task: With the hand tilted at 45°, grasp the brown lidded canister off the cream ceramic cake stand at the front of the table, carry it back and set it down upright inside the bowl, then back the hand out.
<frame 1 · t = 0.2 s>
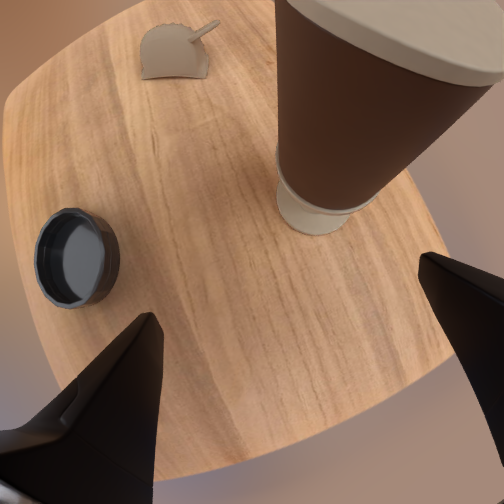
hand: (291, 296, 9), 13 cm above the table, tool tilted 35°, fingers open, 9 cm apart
brown lidded canister: (333, 157, 14), point 8 cm above the table, touching cake stand
bowl: (82, 259, 23), on the table
cake stand: (314, 197, 22), on the table
beige curved piece: (183, 66, 24), on the table
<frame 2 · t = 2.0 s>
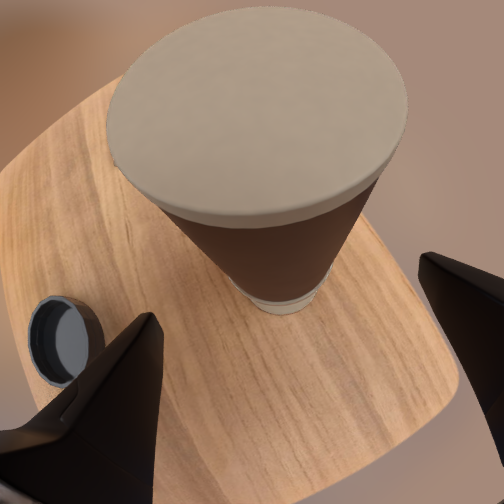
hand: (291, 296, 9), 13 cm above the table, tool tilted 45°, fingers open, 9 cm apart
brown lidded canister: (277, 247, 15), point 8 cm above the table, touching cake stand
bowl: (71, 342, 23), on the table
cake stand: (281, 277, 23), on the table
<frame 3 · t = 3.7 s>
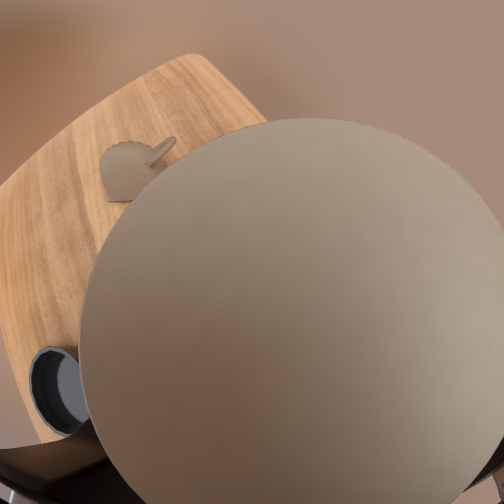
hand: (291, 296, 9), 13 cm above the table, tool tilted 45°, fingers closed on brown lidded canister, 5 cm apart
brown lidded canister: (296, 337, 13), point 8 cm above the table, touching cake stand, gripper
bowl: (74, 390, 21), on the table
beige curved piece: (149, 184, 26), on the table
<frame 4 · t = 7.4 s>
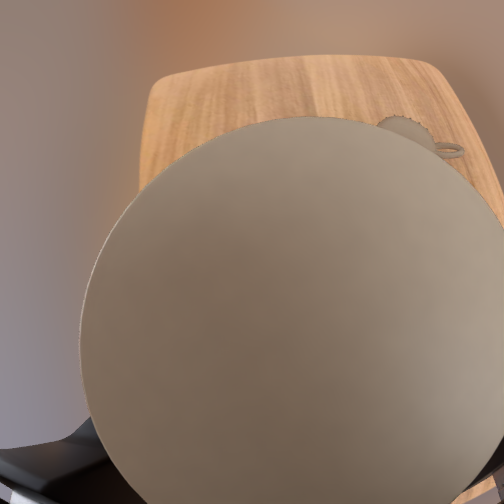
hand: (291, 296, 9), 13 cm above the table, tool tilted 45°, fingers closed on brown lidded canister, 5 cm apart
brown lidded canister: (296, 337, 13), point 9 cm above the table, touching gripper
beige curved piece: (399, 166, 24), on the table
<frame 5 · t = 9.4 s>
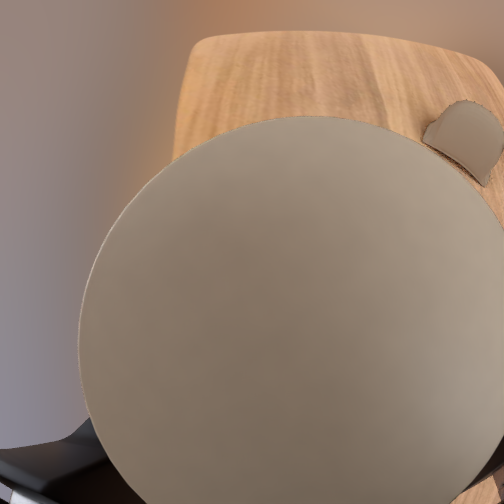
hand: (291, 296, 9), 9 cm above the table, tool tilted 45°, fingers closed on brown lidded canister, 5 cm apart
brown lidded canister: (296, 337, 13), point 5 cm above the table, touching gripper
beige curved piece: (463, 156, 20), on the table
when the fingers open (5 cm above the table, at t = 11.1 s): brown lidded canister stays where it is, resting on bowl.
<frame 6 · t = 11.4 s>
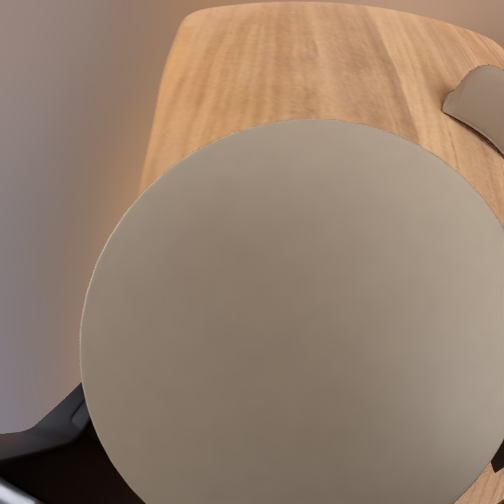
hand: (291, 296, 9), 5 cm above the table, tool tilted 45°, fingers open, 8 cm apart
brown lidded canister: (296, 338, 13), point 1 cm above the table, touching bowl
beige curved piece: (486, 130, 16), on the table
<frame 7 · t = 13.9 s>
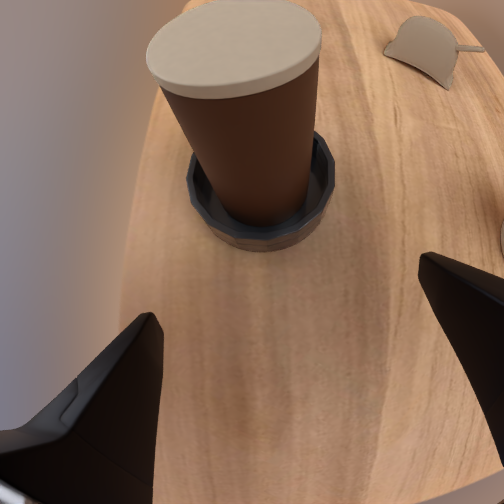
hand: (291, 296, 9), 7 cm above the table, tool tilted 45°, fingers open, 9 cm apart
brown lidded canister: (262, 184, 18), resting on bowl
bowl: (263, 188, 18), on the table
beige curved piece: (425, 68, 20), on the table
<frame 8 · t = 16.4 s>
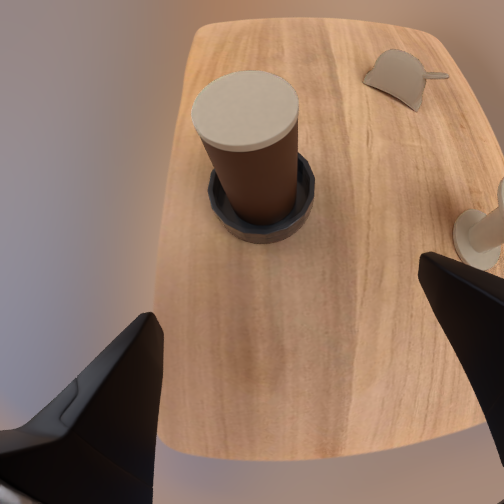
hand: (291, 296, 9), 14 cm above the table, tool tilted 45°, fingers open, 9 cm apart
brown lidded canister: (262, 194, 25), resting on bowl
bowl: (263, 197, 25), on the table
cake stand: (476, 240, 22), on the table
beige curved piece: (398, 92, 27), on the table
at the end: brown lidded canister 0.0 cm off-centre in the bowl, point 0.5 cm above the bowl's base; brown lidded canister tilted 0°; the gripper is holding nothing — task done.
